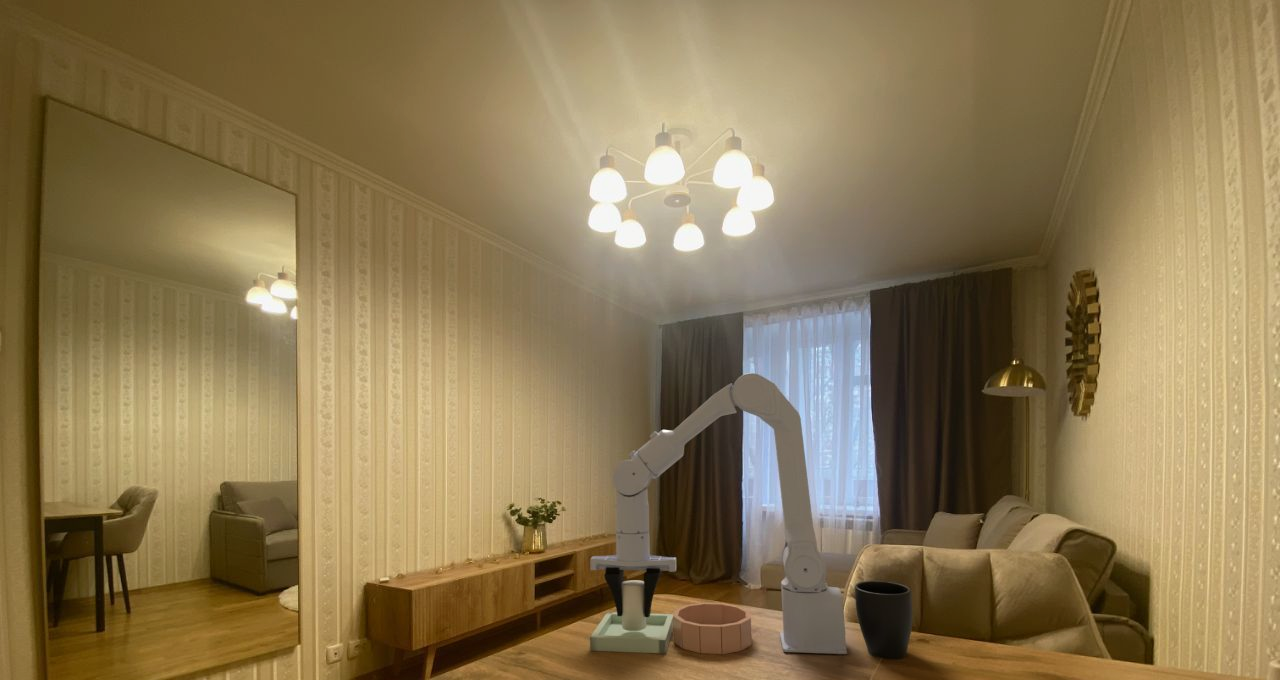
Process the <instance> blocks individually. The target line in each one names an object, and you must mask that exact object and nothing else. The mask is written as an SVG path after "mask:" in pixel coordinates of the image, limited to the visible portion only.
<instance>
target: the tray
mask: <svg viewBox="0 0 1280 680" xmlns="http://www.w3.org/2000/svg"><path fill="white" fill-rule="evenodd" d="M673 614H674V613H651V614H650V616H649V617H646V628H645V629H643V630H639V631H628V630H624V629H623V628H622V616H617V611H615V612H614V611H613V612H611V611H608V612H606V613H605V615H604V616H603V618H602V619H601V621H600V622H599V624H598V625H597V627H596V628H595V630H594V631H593V632H592V634H591V635H590V637H589V641H590V642H589V650H590V651H594V652H615V653H618V652H621V653H640V654H641V653H643V654H645V653H646V654H667V651H668V647H669V644H670V640H671V638H672V636H673V635H672V634H673Z"/></svg>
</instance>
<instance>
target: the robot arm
mask: <svg viewBox="0 0 1280 680" xmlns="http://www.w3.org/2000/svg"><path fill="white" fill-rule="evenodd" d="M735 407H738V408H739V409H740V410H742V411H744V413H748V414H750V415H754V416H756V417H758V418H760V420H762V421H763V422H764V423H765V424H767V425H768V426H769V427H770V428H772V429H773V434H774V442H775V443H774V444H775V452H776V459H777V471H778V479H779V486H780V487H779V488H780V495H781V496H780V497H781V506H782V514H783V515H782V516H783V527H784V530H783V531H784V538H785V539H784V540H785V541H784V546H783V549H782V551H781V563H782V565H783V567H784V575H785V577H784V578H783V579H782V580H781V582H780V586H781V587H780V589H781V590H780V591H781V605H782V607H781V608H782V609H781V610H782V611H781V612H782V627H783V630H782V631H781V632H779V638H780V642H781V646H782V647H781V648H782V651H783V652H785V653H800V654H801V653H804V654H826V655H827V654H829V655H831V654H832V655H847V654H848V651H847V645H846V644H847V642H846V641H847V640H846V626H845V612H844V609H845V608H844V601H843V595H842V592H841V589H840V588H839V587H834V586H828V583H827V581H826V580H825V578H826V576H827V566H826V562H825V561H824V559H823V558H822V556H821V554H820V552H819V549H818V542H817V539H816V538H817V537H816V534H815V528H814V523H813V522H814V521H813V514H812V513H813V512H812V505H811V497H810V496H811V495H810V489H809V479H808V478H809V477H808V470H807V462H806V461H807V460H806V455H805V453H806V452H805V445H804V436H803V428H802V419H801V415H800V413H799V411H798V410H797V409H796V407H794V406H793V404H792V403H791V401H789V400H788V398H787V397H786V396H785V395H784V394H783V392H781V390H780V389H779V388H778V386H777V385H776V383H774V382H772V381H771V380H769V379H767V378H766V377H764V376H763V375H760V374H758V373H754V372H753V373H751V372H748V373H744V374H743V375H740V376H739V377H738V378H737V379H736V380H735V381H734V383H732V382H731V383H729V384H727V385H726V386H724V387H723V388H721V389H719V391H717V392H715V393H714V394H713V395H711V396H710V397H709V398H708V399H707V400H706V401H705V402H704V403H702V404H701V405H700V406H699V407H698V408H697V409H696V410H695V411H693V412H692V413H691V414H690V415H689V416H688V417H687V418H686V419H684V420H683V421H682V422H681V423H680V424H679V425H678V426H676V427H675V428H674V429H673V430H671V429H670V430H669V429H662V430H660V431H659V432H657V431H653V432H652V433H651V434H650V435H649V438H650V439H648V441H647V442H646V443H645V444H643V445H642V446H641V447H639V449H638V450H637V451H636V450H632V451H631V452H630V453H629V454H628V455H629V457H630V459H624V460H622V461H619V463H618V465H617V466H616V467H615V468H614V470H613V474H612V476H611V477H612V484H613V486H614V488H615V491H616V493H615V497H616V503H615V540H616V541H615V547H616V550H615V551H616V552H615V553H616V554H615V555H614V554H613V555H593V556H591V558H590V562H589V564H590V565H589V567H590V571H597V570H605V573H604V580H605V582H606V584H607V586H608V588H609V590H610V592H611V594H612V598H613V600H614V604H615V605H614V606H615V608H616V609H615V610H616V613H617V616H622V582H624V573H625V571H645V572H644V573H643V581H644V588H645V609H644V613H645V617H649V616H650V614H652V612H651V611H652V604H653V599H654V594H655V591H656V588H657V585H658V582H659V579H660V576H661V574H662V572H665V571H668V572H669V573H670V572H671V573H673V572H674V573H675V572H676V571H677V557H672V556H670V557H669V556H661V555H651V547H650V546H651V545H650V544H651V542H650V540H651V539H650V504H649V499H648V498H649V497H648V496H649V494H648V493H649V491H648V487H649V485H650V484H651V481H652V479H654V480H655V479H657V478H659V477H660V476H661V475H662V474H663V473H665V472H666V470H668V469H669V468H670V467H672V466H673V465H674V464H675V463H676V462H678V461H679V460H680V459H681V458H683V456H684V455H685V445H686V444H687V443H688V442H689V441H690V440H692V439H694V438H695V437H696V436H697V435H698V434H700V433H701V432H702V431H704V430H705V429H706V428H707V427H709V426H710V425H712V424H713V422H715V421H716V420H717V419H719V418H720V417H722V416H727V415H732V414H737V412H738V411H737V409H736V408H735Z"/></svg>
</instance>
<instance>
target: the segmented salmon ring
mask: <svg viewBox="0 0 1280 680" xmlns="http://www.w3.org/2000/svg"><path fill="white" fill-rule="evenodd" d="M672 614H673V631H672V634H673V635H672V636H673V642H674V644H676V645H677V646H678V647H680V648H681V649H682V650H687V651H691V652H694V653H698V654H707V655H708V654H710V655H712V654H713V655H725V654H731V653H735V652H741V651H743V650H745V649H747V648H749V647H750V646H752V645H753V641H752V640H753V638H752V637H753V636H752V617H751V611H750V610H748V609H746V608H744V607H743V606H739V605H735V604H729V603H722V602H700V603H691V604H685V605H683V606H681V607H678V608H676V609H674V611H673V613H672Z"/></svg>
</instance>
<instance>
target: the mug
mask: <svg viewBox="0 0 1280 680" xmlns="http://www.w3.org/2000/svg"><path fill="white" fill-rule="evenodd" d="M912 594H913V593H912V589H911V588H910V587H908V586H906V585H904V584H902V583H901V584H900V583H896V582H893V581H885V580H884V581H883V580H882V581H881V580H874V579H871V580H867V581H861V582H858V583H855V585H854V595H855V597H854V598H855V610H856V616H857V618H858V619H857V620H858V625H859V627H860V631H861V634H862V637H863V640H864V642H865V646H866V649H867V652H868V653H869V654H871V655H872V656H875V657H877V658H881V659H887V660H898V659H903V658H905V657H907V653H908V647H909V644H910V639H911V634H912V629H913V628H912V627H913V617H914V616H913V613H914V610H913V609H914V608H913V595H912Z"/></svg>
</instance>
